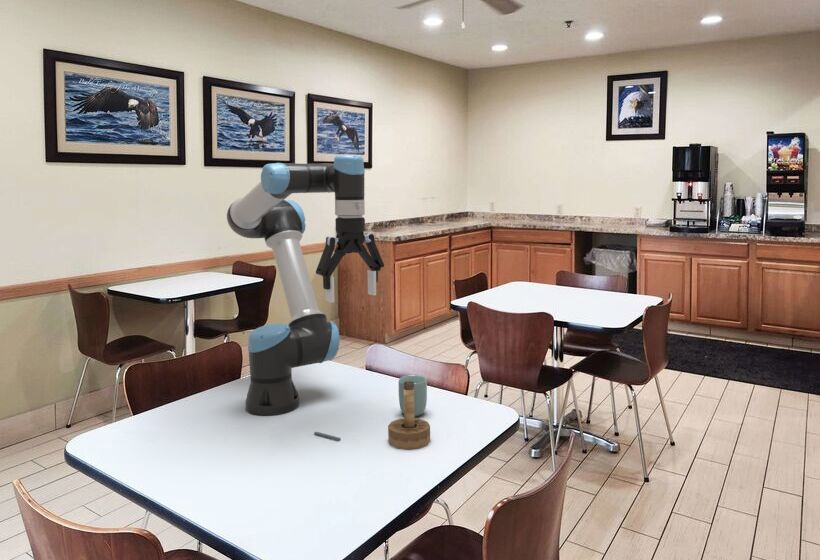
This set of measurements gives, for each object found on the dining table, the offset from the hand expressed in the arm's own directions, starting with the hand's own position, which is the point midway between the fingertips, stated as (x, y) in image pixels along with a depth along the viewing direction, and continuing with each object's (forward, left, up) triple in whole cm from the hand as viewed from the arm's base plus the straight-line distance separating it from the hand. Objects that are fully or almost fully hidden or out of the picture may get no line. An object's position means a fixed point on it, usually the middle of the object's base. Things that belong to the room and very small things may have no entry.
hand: (351, 298), depth 163 cm
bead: (+20, +2, -34) cm, 39 cm away
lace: (+4, -12, -34) cm, 36 cm away
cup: (+7, +15, -34) cm, 38 cm away
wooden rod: (+20, +2, -34) cm, 39 cm away
